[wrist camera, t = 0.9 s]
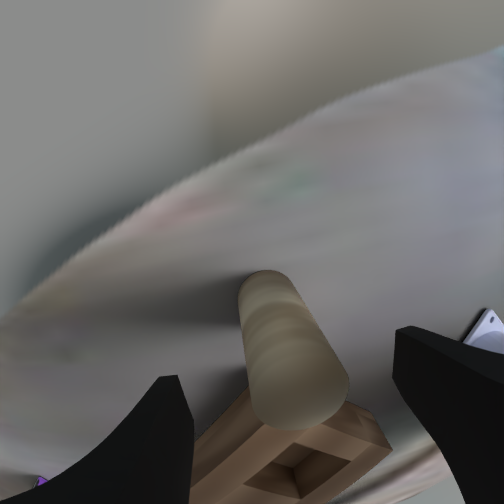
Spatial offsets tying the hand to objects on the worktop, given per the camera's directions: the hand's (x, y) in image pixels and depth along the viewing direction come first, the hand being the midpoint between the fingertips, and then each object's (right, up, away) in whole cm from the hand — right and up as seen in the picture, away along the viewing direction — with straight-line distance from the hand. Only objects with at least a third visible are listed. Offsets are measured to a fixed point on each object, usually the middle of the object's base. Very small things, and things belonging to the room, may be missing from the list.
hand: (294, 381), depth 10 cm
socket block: (-1, -11, +10) cm, 15 cm away
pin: (-1, +2, +7) cm, 7 cm away
